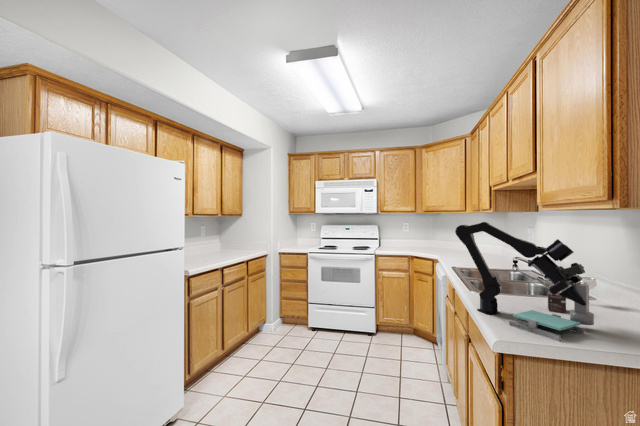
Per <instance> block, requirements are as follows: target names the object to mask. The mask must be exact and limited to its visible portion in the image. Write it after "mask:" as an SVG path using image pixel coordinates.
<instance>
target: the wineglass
mask: <svg viewBox="0 0 640 426" xmlns="http://www.w3.org/2000/svg"><path fill="white" fill-rule="evenodd" d="M580 277H581V278H582V280H581V281H579V282H581V284H585V285H589V291H590V290H593V289H595V288H596V287H597V285H598V284H597V278H594V277H589V276H580ZM589 307H595V304H593V303H591V302H589Z"/></svg>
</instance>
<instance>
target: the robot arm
mask: <svg viewBox="0 0 640 426" xmlns="http://www.w3.org/2000/svg"><path fill="white" fill-rule="evenodd" d="M454 232H455V235H456V237H457V238H458V239H459V240H460V242H462V244H463V245H464V246H465V248H466V249H467V251H468V253H469V255H470V257H471V259H472V261H473V263H474V264H475V267H476V269H477V270H478V272H479V274H480V276H481V280H482V286H483V289H482V290H481V291H480V292H479V293H478V295H479V308H476V310H477V311H478V312H481V313H483V314H486V315H495V314H501V311H498V299H497V298H496V297H497V296H499V294H501V292H502V289H503V286H502V284H503V282H502V281H501V280H500V277H499V275H498V274H495V275H494V274H493V272H491V269H490V268H489V265H488V264H487V262H486V260H485V258H484V257H483V254H482V252H481V251H480V249H479V247H478V245H477V243H476V241H475V240H476V239H475V236H474V234H476V233H480V232H484V233H486V234H487V235H490V236H491V237H493V238H496V239H498V240H499V241H501V242H503V243H504V244H507V245H508V246H510V247H512V248H513V249H514V250H515V251H516V252H518V253H519V254H520V255H522V257H525V258H527V262H528V263H527V266H528V267H529V268H532V267H533V266H535V267H536V268H537V269H538V270H539V271H540V272H541V273H542V274H543V275H544V276H543V277H544V278H545V279H548V280H549V281H550V282H551V283H552V285H551V286H550V287H549V288H548V289H549V292H551V293H552V294H553V295H556V294H557V293H560V294H558V295H561V296H563V297H566V299H568V300H570V301H572V302H577V303H579V304H581V305H583V306H585V305H586V303H585V301H584V300H583V299H582V298H581V296H580V295H579V294H578V293H577V292H576V290H575V284H577V283H578V284H581V282H579V281H581V280H582V278H581V277H582V276H580V275H582V274H585V273H586V271H585V269H584V268H585V266H583V265H582V264H581V263H578V262H573V263H571V264H570V266H569V267H566V268H565V267H564V266H561V265H560V266H559V265H558V264H556V263H555V262H558V261H559V262H562V261H564V260H565V259H567V258H568V257H569V256H571V255H572V254H573V253H574V251H573V250H572V249H571V248H570V247H569V246H568V245H567V244H564V243H563V242H562V241H561V240H560V239H556V240H554V241H553V242H552V244H550V245H549V246H547V247H544V246H537V244H535V243H534V242H530V241H528V240H525V239H522V238H518V237H515V236H513V235H511V234H509V233H508V232H505V231H504V230H502V229H500V228H498V227H495V226H494V225H492V224H490V223H489V222H486V221H481V222H479V223H476V224H471V225H467V224H461V225H458V226H457V227H456V228H455V231H454ZM539 255H541V256H539ZM530 258H533V259H531V260H530Z"/></svg>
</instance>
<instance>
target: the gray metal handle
mask: <svg viewBox="0 0 640 426" xmlns="http://www.w3.org/2000/svg"><path fill="white" fill-rule="evenodd" d="M575 290H576V292H577V293H578V294H579V295H580V296H581V298H582V299H583V300H584V301H585V303H586V305H585V306H583V305H581V304H579V303H577V302H574V301H573V302H574V309H570V310H569V315H570V317H569V320H572V321H576V322H579V323H580V325H584V326H594V325H595V313H593V312H592V311H590V306H589V303H590V290H589V285H585V284H578V283H577V284H575Z"/></svg>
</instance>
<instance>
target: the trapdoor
mask: <svg viewBox="0 0 640 426" xmlns="http://www.w3.org/2000/svg"><path fill="white" fill-rule="evenodd" d="M512 317H513V318H517V319H518V320H519V321H522V322H529V320H530V319H531V320H534V321H538V326H539V325H540V326H543V327H546V328H550V329H554V330H557V331H563V330H566V329H567V328H571V327H575V326H577V327H579V326H581V324H580V323H579V322H576V321H572V320H570V319H567V318H563V317H561V318H560V317H557V316H553V315H552V314H549V313H546V312H545V313H544V312H542V311H537V310H533V309H532V310H527V311H524V312H518V313H513V314H512Z"/></svg>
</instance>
